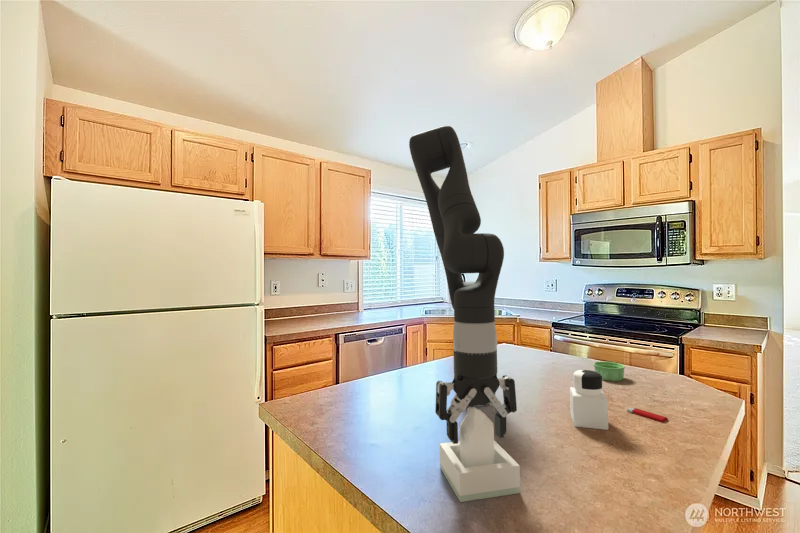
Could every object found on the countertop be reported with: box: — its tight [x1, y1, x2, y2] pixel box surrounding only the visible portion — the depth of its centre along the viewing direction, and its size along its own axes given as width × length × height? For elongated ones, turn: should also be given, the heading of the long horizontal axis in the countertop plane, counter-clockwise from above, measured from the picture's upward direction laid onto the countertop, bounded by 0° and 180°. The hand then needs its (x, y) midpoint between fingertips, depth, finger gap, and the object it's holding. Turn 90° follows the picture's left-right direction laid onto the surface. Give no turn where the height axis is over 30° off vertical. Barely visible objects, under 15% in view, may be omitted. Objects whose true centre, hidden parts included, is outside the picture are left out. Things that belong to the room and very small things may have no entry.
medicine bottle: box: [569, 369, 609, 431], centre depth 87 cm, size 7×7×12 cm
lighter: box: [626, 407, 668, 423], centre depth 90 cm, size 3×1×8 cm
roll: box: [459, 406, 495, 468], centre depth 65 cm, size 6×12×6 cm
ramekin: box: [593, 360, 625, 382], centre depth 122 cm, size 9×9×4 cm
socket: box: [439, 439, 521, 503], centre depth 65 cm, size 10×10×4 cm
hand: (476, 439), depth 65 cm, fingers open, 8 cm apart
